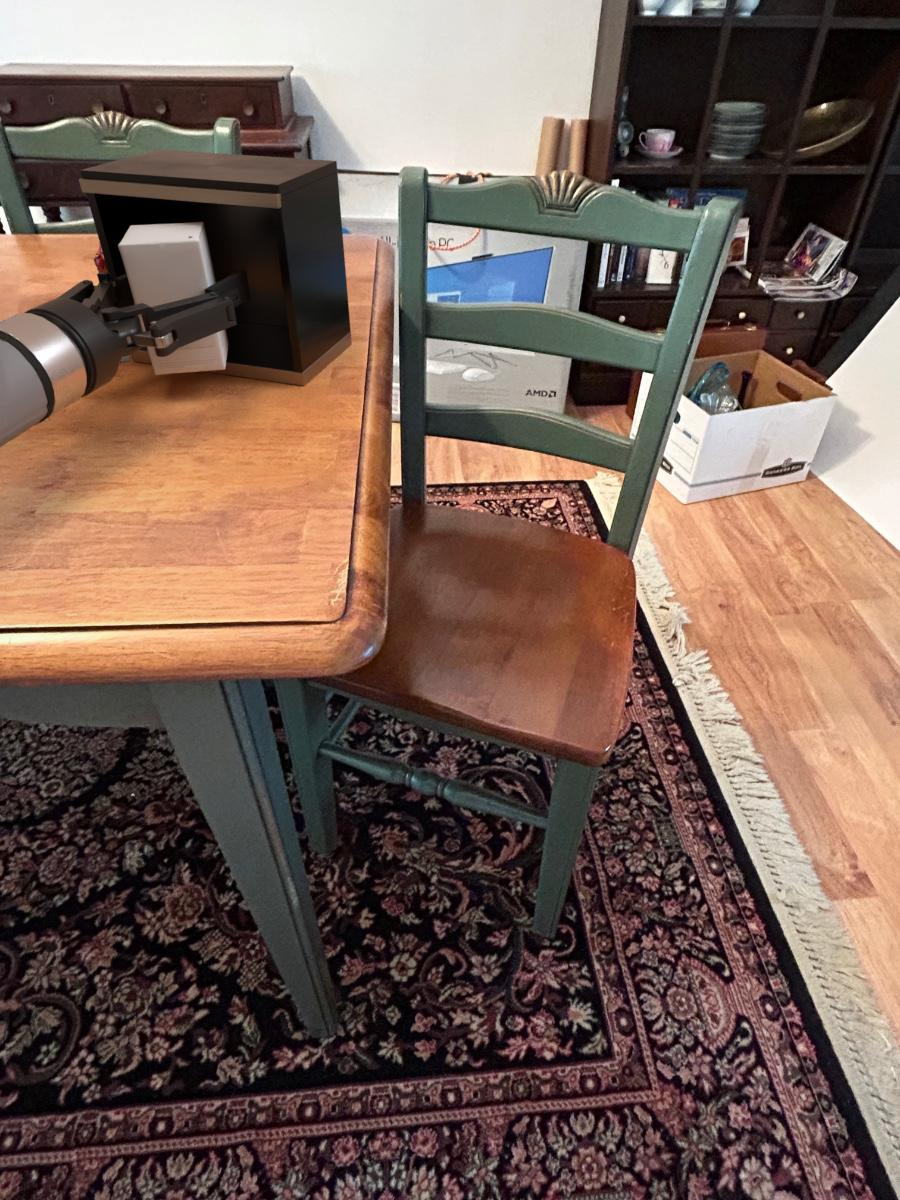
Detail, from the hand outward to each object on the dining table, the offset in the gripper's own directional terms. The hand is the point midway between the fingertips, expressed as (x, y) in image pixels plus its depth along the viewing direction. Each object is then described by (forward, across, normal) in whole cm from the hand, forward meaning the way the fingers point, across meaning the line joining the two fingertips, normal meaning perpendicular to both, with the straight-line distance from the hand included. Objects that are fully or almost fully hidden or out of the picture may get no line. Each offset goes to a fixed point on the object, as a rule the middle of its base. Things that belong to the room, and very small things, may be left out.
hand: (201, 279), depth 77 cm
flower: (+16, -22, -10) cm, 29 cm away
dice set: (0, -17, -10) cm, 20 cm away
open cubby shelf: (+5, 0, -10) cm, 11 cm away
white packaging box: (-4, 0, -7) cm, 8 cm away
